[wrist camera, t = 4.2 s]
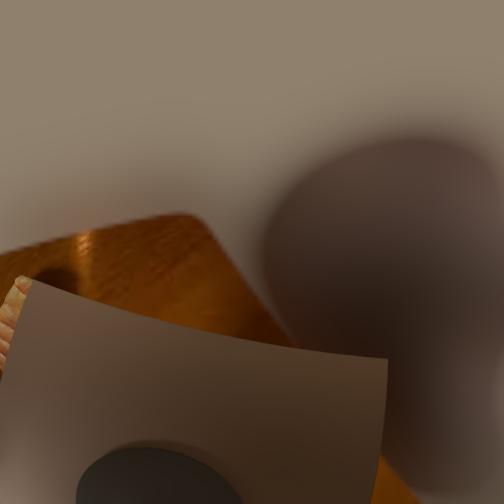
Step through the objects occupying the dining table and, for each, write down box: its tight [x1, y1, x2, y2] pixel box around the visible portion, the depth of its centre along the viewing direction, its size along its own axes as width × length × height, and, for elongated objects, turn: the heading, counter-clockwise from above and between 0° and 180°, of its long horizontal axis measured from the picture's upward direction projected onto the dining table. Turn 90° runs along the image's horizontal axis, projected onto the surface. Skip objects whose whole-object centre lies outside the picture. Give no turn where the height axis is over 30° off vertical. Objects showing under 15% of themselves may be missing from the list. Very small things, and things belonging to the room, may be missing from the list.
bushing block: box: [0, 279, 388, 504], centre depth 7 cm, size 6×6×12 cm
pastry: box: [0, 276, 33, 372], centre depth 18 cm, size 9×7×4 cm
